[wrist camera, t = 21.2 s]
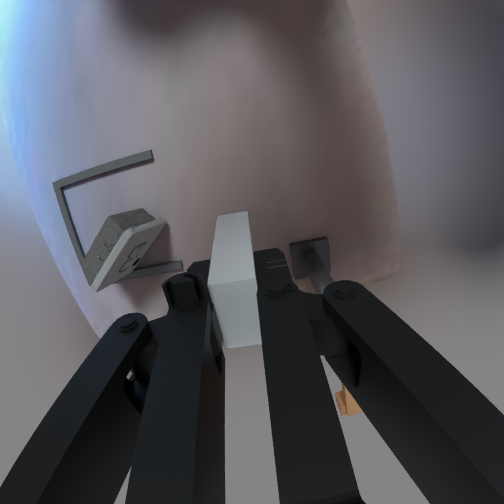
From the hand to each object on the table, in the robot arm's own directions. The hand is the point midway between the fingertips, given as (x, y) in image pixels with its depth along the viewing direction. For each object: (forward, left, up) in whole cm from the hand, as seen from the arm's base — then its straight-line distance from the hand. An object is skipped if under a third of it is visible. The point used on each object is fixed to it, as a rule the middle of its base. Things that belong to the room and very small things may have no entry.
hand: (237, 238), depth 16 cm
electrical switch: (+6, -15, -23) cm, 28 cm away
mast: (+13, +7, -22) cm, 27 cm away
